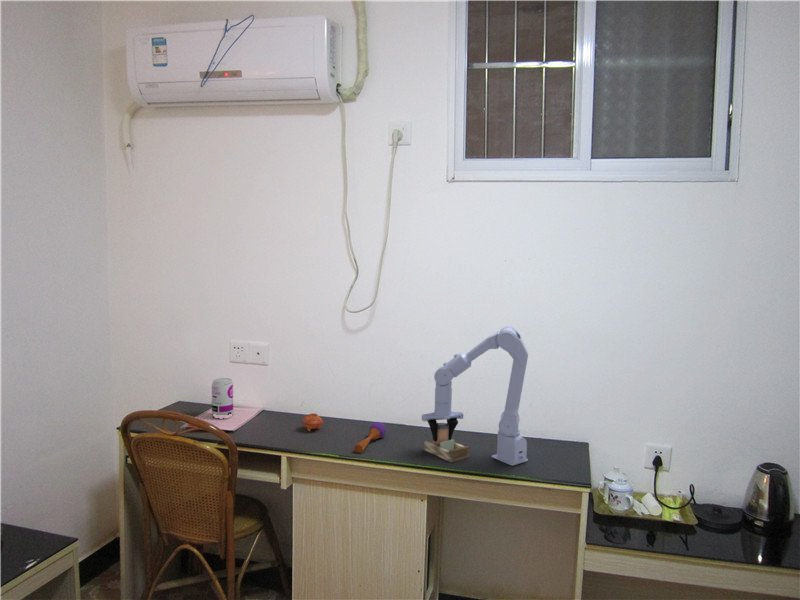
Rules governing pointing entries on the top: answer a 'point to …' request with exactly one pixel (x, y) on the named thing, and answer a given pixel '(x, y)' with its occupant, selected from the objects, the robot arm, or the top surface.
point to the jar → (442, 433)
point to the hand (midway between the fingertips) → (441, 440)
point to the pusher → (447, 444)
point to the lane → (452, 455)
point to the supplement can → (222, 396)
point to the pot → (312, 421)
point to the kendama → (371, 436)
